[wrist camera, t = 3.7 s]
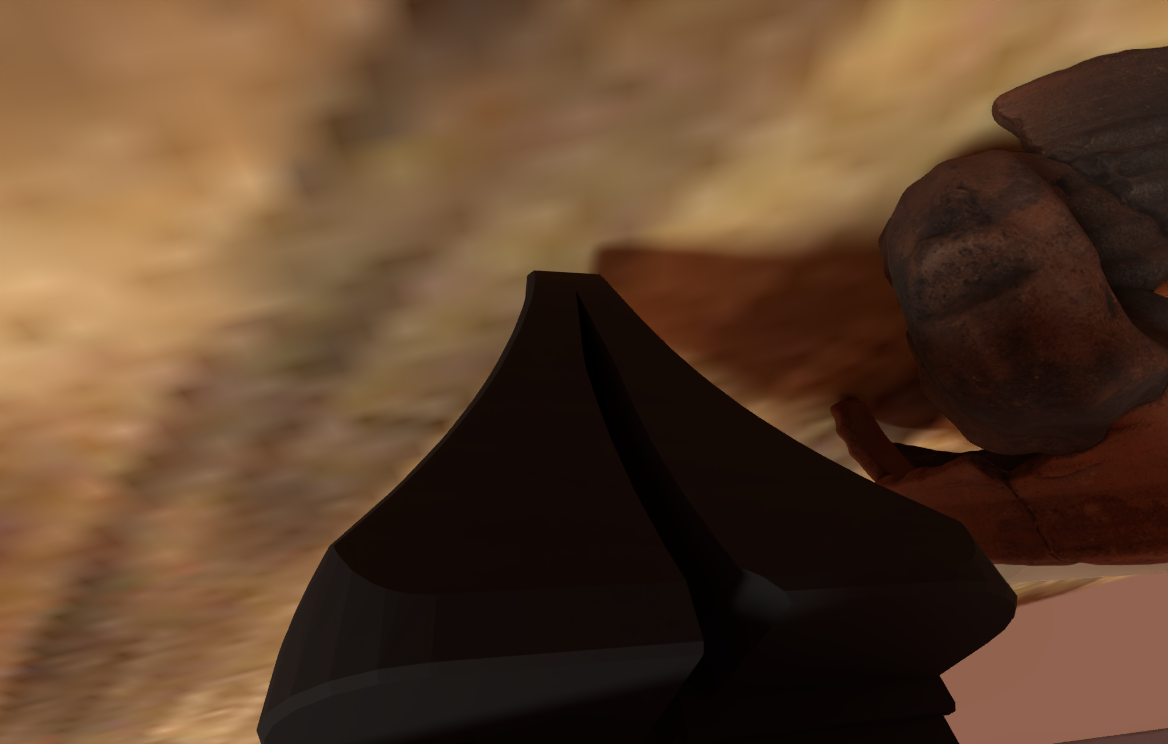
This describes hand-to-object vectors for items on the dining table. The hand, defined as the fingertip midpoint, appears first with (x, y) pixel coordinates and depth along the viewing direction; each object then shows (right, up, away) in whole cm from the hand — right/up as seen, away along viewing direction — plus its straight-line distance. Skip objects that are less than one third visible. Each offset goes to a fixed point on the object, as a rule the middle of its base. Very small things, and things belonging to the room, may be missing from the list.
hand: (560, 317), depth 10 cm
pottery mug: (+9, +2, +2) cm, 10 cm away
